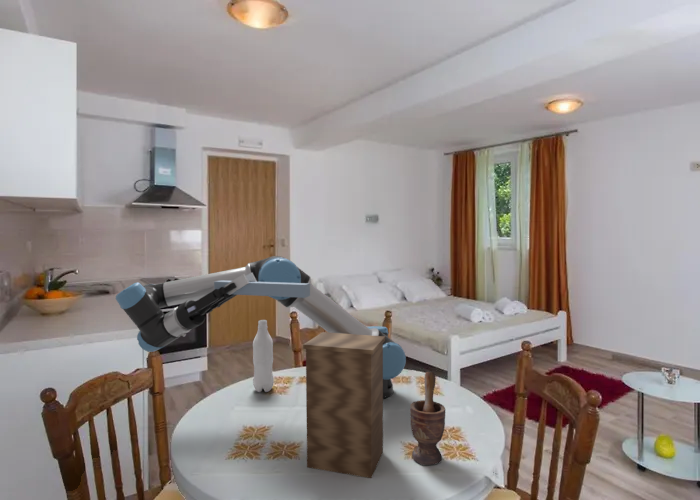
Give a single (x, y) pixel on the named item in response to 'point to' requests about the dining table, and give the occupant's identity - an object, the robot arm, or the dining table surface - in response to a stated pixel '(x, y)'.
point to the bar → (270, 289)
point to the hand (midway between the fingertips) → (250, 277)
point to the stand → (344, 402)
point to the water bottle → (263, 358)
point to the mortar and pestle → (427, 425)
